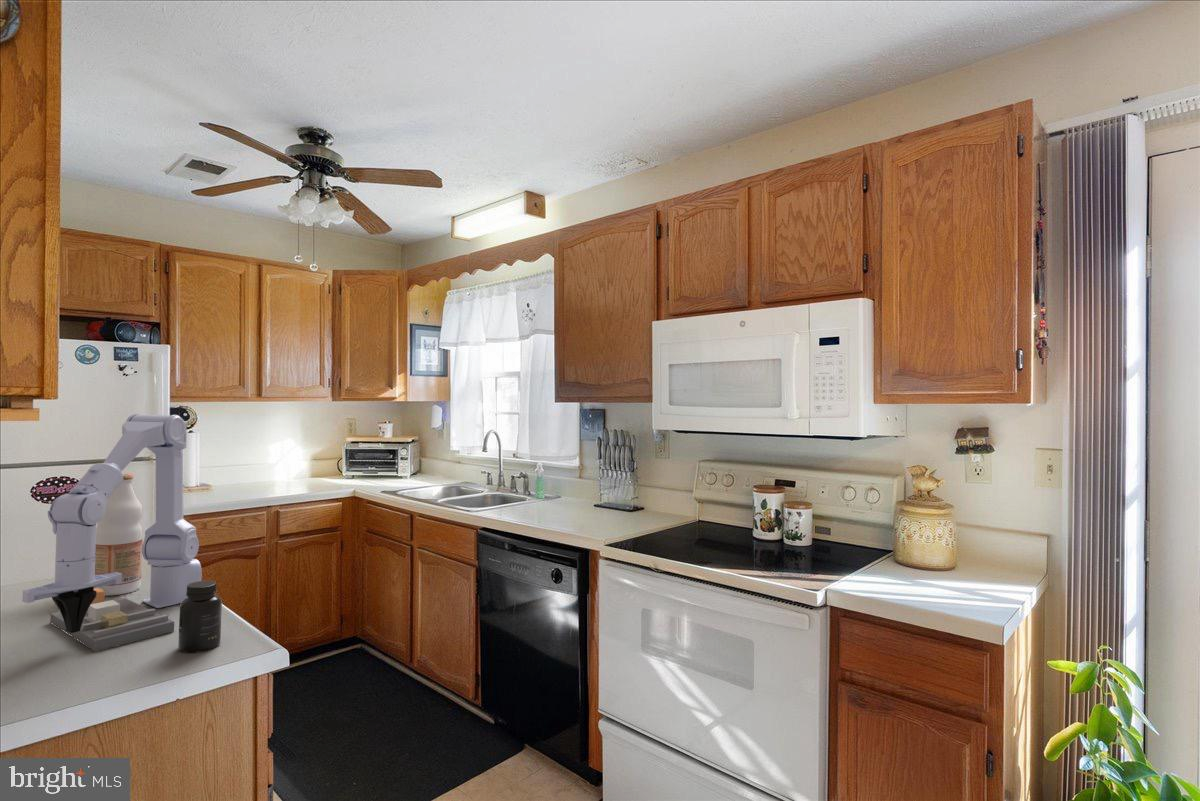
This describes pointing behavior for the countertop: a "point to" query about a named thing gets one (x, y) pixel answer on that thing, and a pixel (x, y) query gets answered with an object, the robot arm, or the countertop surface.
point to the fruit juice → (120, 539)
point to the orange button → (99, 596)
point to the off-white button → (102, 609)
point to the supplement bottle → (200, 618)
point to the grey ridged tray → (137, 627)
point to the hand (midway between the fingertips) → (73, 631)
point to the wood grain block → (113, 619)
